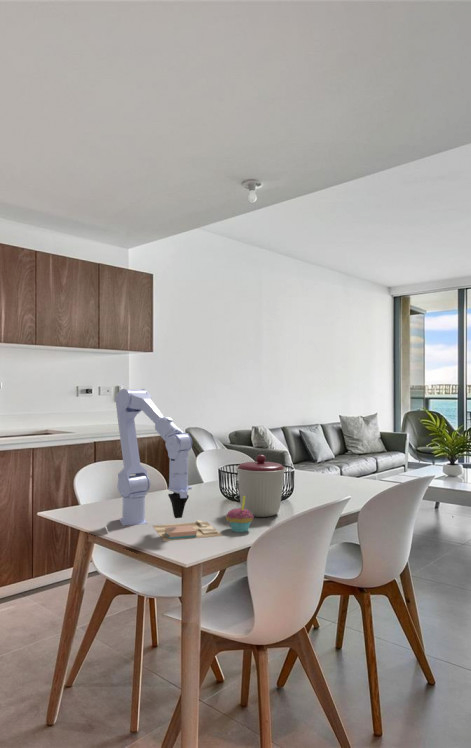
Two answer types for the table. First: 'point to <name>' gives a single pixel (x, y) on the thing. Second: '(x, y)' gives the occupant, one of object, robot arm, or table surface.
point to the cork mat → (161, 528)
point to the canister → (261, 486)
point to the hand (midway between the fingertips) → (178, 517)
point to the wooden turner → (205, 528)
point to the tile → (180, 532)
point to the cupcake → (240, 518)
